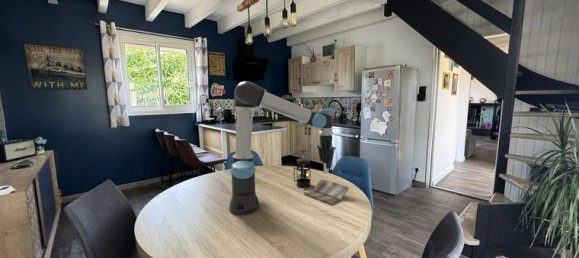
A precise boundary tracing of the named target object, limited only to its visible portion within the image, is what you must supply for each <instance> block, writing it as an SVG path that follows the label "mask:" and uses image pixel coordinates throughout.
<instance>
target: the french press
mask: <svg viewBox="0 0 579 258" xmlns="http://www.w3.org/2000/svg"><path fill="white" fill-rule="evenodd" d="M300 152H301V153H302V158H297V159H296V161H297V162H296V163H297V165H298V166H296V167H293V182H295V183H296V187H297V188H303V189H306V188H310V187H311V186H312V185H311V183H312V182H311V177H312V176H311V174H307V172H308V171H309V172H310V171H311V166H309V164H310V162H311V159H310V158H305V157H304V156H305V152H307V150H306V149H303V150H300ZM295 170H296V171H297V172H299V171H300V174H296V175H295V173H296V171H295ZM295 176H296V177H295ZM295 178H296V180H295Z"/></svg>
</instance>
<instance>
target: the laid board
mask: <svg viewBox="0 0 579 258" xmlns="http://www.w3.org/2000/svg"><path fill="white" fill-rule="evenodd" d="M303 195H305V196H306V197H308V198H312V199H315V200H317V201H319V202H321V203H323V204H327V205H329V206H332V205H334V204H337V203H339V202H341V201H340V199H339V198H336V197H334V196H331V195H328V194H325V193H323V192H320V191H317V190H314V188H312V189H310V190H308V191H307V190H306V191H305V192H303Z"/></svg>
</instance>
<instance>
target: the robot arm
mask: <svg viewBox="0 0 579 258" xmlns="http://www.w3.org/2000/svg"><path fill="white" fill-rule="evenodd" d="M233 104H234V108H235V110H236V129H235V130H236V131H235V150H234V151H235V152H234V154H232V158H231V161H232V162H231V169H230V173H231V193H232V194H231V197H230V201H229V206H228V208H229V209H228V210H229V212H230V213H231V214H235V215H248V214H249V215H250V214H252V213H255V212H257V211H258V210H259V209H260V201H259V198H258V195H257V193H256V167H255V163H254V155H253V154H252V140H253V139H252V138H253V120H254V119H253V115H254V110H256V109H257V108H260V107H262V108H265V109H267V110H270V111H272V112H274V113H277V114H280V115H282V116H285V117H287V118H290V119H293V120H295V121H298V122H299V125H300V126H301V127H307V126H309V127H311V128H315V129H319V144H318V145H317V146H316V147H317V150H318V156H319V161H320V162H322V167H323V174H325V175H327V174H329V170H330V163H333V159H334V154H335V151H336V149H337V148H336V147H335V146H333V109H331V108H320V109H318V110H319V111H317V112H315V111H313V110H310V109H309V108H307V107H304V106H301V105H298V104H296V103H294V102H291V101H289V100H286V99H285V98H282V97H279V96H277V95H275V94H272V93H270V92H267V90H266V88H263V87H261V86H259V85H257V84H255V83H253V82H251V81H248V80H244V81H241V82H239V83H238V84H237V85H236V86H235V89H234V103H233Z"/></svg>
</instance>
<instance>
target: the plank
mask: <svg viewBox="0 0 579 258" xmlns="http://www.w3.org/2000/svg"><path fill="white" fill-rule="evenodd" d="M313 189H314V190H317V191H320V192H323V193H325V194H328V195H331V196H334V197H336V198H339V199H340V201H339V202H341V201H342V199H343V198H344V197H345V195H346V194H347V192H348V190H349V189H350V187H349V186H346V185H342V184H340V183H337V182H335V181H334V182H333V181H329V180H327V179H324V178H321V179H320V180H319V181H318V182H317V184H316V186H315V187H314V188H313Z"/></svg>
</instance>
